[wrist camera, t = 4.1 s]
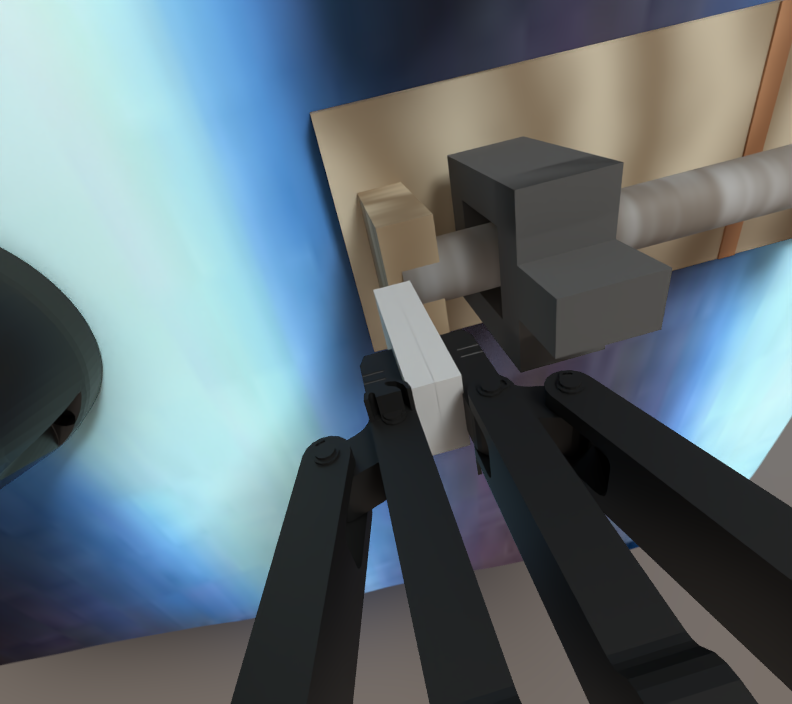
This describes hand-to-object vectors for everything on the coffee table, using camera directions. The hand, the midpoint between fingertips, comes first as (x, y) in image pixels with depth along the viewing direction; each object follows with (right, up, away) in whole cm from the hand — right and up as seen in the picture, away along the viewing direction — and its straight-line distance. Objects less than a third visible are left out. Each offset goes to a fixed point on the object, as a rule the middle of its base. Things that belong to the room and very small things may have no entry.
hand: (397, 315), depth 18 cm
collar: (+5, +6, +6) cm, 10 cm away
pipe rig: (+13, +9, +9) cm, 18 cm away
